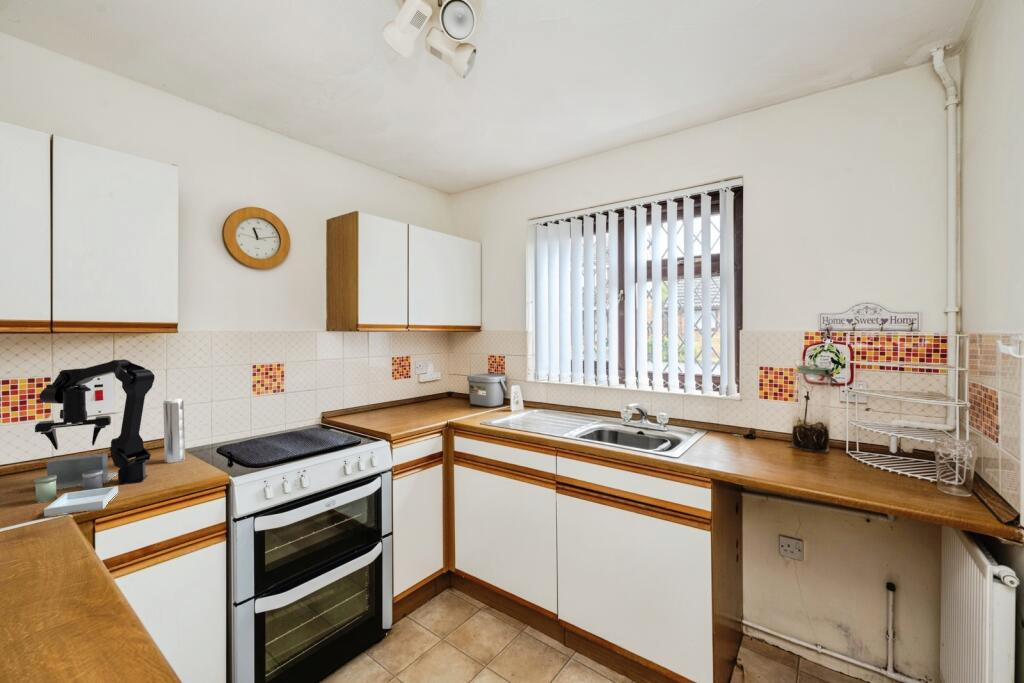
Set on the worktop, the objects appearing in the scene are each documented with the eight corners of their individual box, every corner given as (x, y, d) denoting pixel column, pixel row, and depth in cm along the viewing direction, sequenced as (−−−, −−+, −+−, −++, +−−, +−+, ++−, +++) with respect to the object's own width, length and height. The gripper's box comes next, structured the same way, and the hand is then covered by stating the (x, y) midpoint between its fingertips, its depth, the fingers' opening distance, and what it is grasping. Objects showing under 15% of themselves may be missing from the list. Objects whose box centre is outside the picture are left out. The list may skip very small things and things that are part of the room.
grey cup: (105, 489, 144) (104, 469, 144) (100, 494, 140) (99, 473, 140) (86, 492, 142) (85, 471, 142) (80, 497, 138) (79, 475, 138)
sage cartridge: (60, 495, 139) (59, 474, 139) (53, 501, 135) (52, 478, 135) (39, 498, 137) (38, 476, 137) (31, 504, 133) (30, 481, 133)
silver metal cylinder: (167, 464, 172) (165, 401, 171) (162, 461, 175) (160, 399, 175) (187, 460, 177) (185, 399, 176) (182, 457, 181) (180, 397, 180)
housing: (117, 474, 159) (116, 450, 159) (108, 482, 151) (107, 457, 151) (49, 483, 150) (48, 457, 150) (36, 491, 142) (35, 464, 142)
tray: (118, 493, 141) (117, 486, 141) (102, 509, 129) (102, 500, 129) (65, 501, 135) (65, 493, 135) (44, 518, 123) (43, 509, 123)
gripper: (111, 398, 166) (112, 438, 167) (40, 403, 154) (41, 446, 155) (109, 402, 158) (110, 445, 158) (34, 408, 146) (35, 454, 146)
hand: (75, 447), depth 155 cm, fingers open, 9 cm apart
